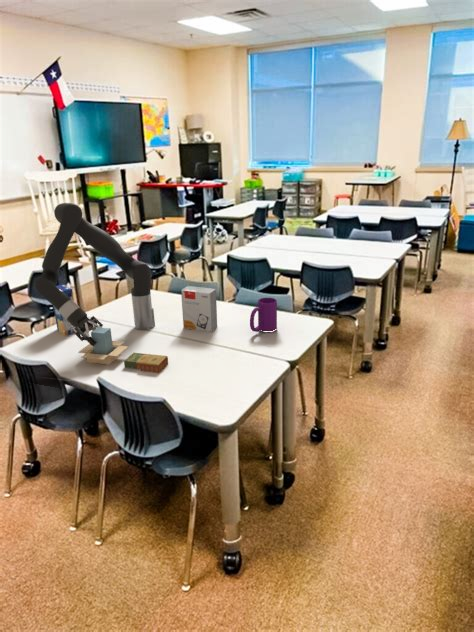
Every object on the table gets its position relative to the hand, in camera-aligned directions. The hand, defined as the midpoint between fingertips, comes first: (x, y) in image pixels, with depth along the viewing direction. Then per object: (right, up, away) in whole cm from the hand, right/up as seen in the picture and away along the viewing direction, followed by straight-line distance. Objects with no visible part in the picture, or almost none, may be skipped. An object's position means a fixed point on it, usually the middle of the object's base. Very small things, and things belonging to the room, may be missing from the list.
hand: (100, 340), depth 199 cm
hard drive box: (+40, +4, +34) cm, 52 cm away
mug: (+70, +3, +27) cm, 75 cm away
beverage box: (-26, +3, +35) cm, 44 cm away
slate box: (+1, -8, +3) cm, 8 cm away
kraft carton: (+1, -8, +3) cm, 9 cm away
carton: (+20, -11, -4) cm, 23 cm away
